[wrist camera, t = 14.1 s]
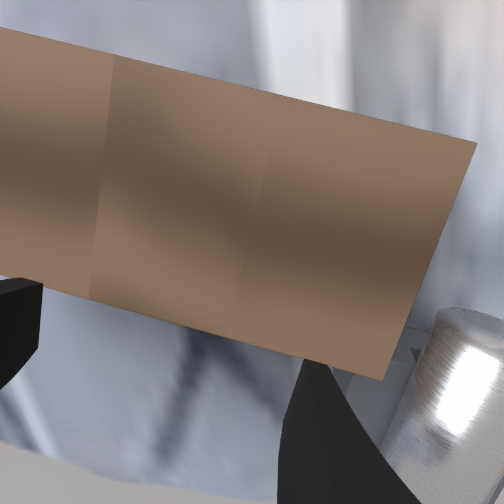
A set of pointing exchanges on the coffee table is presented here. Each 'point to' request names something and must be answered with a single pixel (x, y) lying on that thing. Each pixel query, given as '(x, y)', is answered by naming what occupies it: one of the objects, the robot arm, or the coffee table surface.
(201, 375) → the coffee table surface
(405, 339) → the v block
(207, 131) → the brown notched block
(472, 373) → the axle
